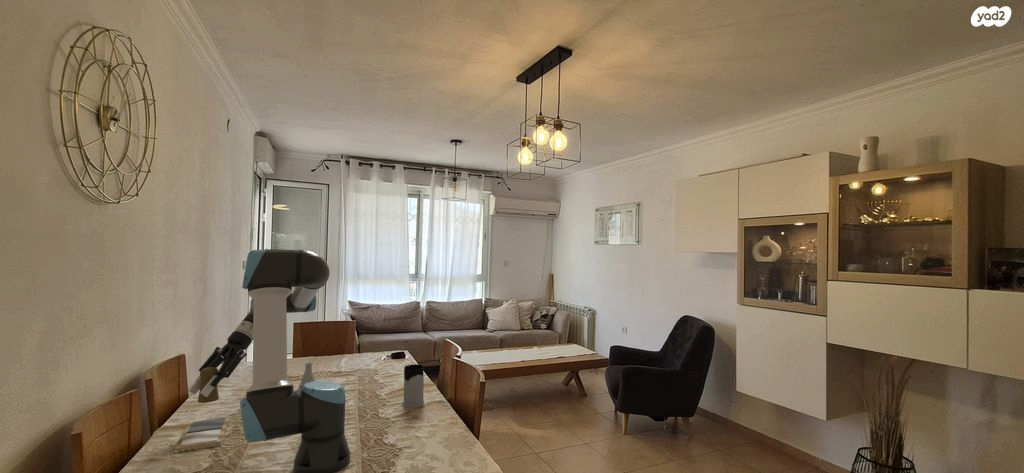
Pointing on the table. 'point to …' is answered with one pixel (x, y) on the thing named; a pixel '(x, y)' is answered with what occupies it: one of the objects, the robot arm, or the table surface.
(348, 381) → the table surface
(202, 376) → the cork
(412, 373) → the glass holder
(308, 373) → the flask
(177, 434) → the table surface
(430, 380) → the table surface
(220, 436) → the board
